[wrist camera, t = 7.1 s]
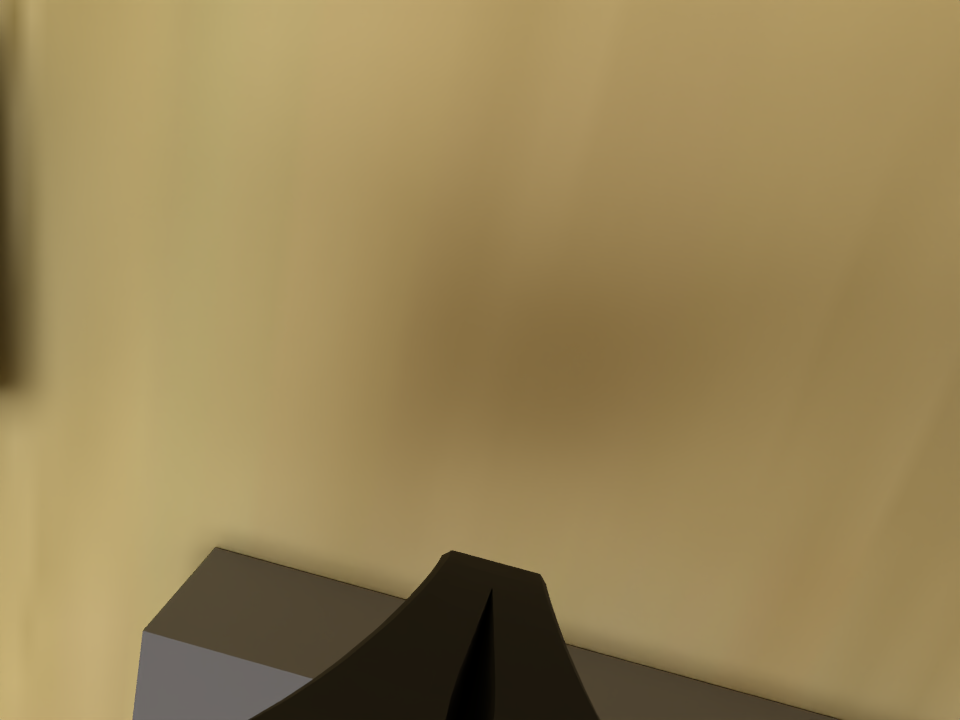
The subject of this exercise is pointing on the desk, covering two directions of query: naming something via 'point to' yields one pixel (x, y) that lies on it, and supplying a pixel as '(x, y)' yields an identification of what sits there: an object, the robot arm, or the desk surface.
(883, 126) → the desk surface
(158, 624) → the grey slotted tray
